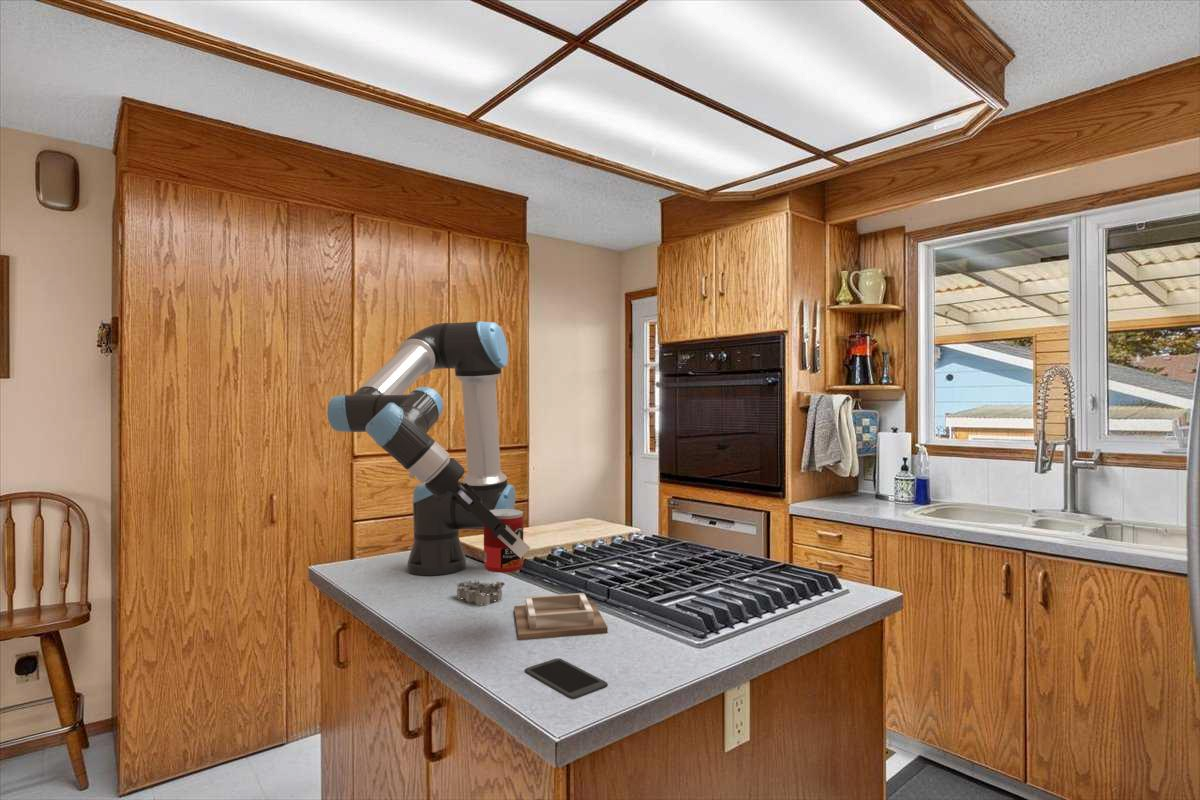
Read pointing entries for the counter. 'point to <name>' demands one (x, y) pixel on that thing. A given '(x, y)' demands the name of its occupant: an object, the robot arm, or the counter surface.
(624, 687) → the counter surface
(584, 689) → the cell phone
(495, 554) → the canned food
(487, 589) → the egg carton
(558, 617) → the socket board
